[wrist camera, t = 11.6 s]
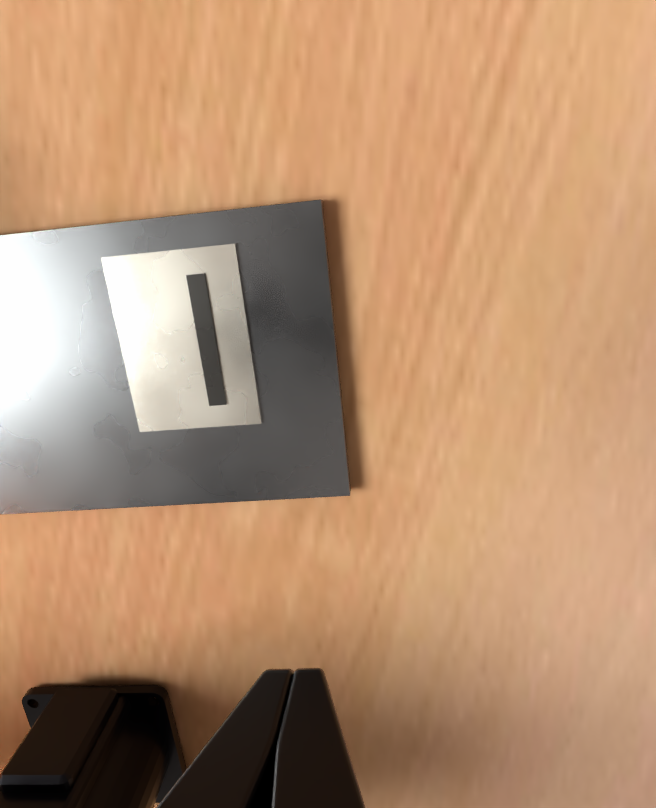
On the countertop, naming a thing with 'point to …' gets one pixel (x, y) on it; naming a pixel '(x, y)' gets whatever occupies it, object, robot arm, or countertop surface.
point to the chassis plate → (170, 363)
